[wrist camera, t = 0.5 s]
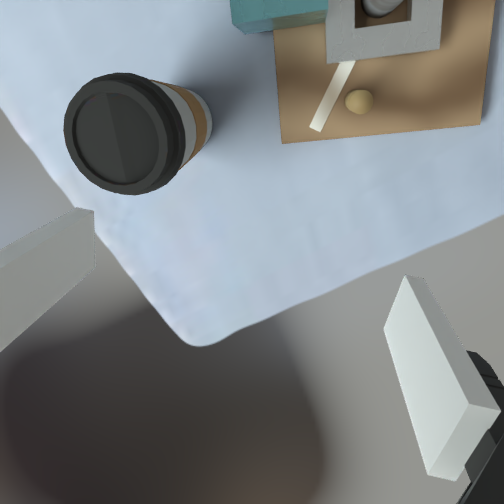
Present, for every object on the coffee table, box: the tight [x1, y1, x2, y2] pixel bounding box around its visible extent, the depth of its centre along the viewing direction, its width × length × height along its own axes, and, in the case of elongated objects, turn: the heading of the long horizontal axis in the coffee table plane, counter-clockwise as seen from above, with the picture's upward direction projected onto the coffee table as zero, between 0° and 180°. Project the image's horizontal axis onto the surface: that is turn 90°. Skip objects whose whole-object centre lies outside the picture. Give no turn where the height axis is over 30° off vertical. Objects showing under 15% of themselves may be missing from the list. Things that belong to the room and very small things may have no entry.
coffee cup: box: [64, 73, 212, 195], centre depth 32 cm, size 8×8×15 cm
